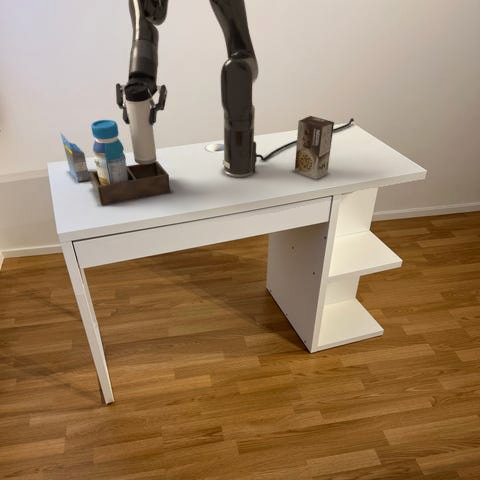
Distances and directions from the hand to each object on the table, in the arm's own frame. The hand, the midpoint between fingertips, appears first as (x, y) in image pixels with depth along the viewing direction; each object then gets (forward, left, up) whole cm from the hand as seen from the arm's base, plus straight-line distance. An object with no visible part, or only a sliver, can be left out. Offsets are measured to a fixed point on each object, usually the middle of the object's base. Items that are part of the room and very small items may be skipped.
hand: (139, 123), depth 124 cm
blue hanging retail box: (+16, -18, -20) cm, 31 cm away
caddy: (+4, -1, -19) cm, 20 cm away
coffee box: (-52, +9, -20) cm, 56 cm away
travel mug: (-1, -1, -11) cm, 11 cm away
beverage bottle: (+9, -1, -20) cm, 22 cm away
